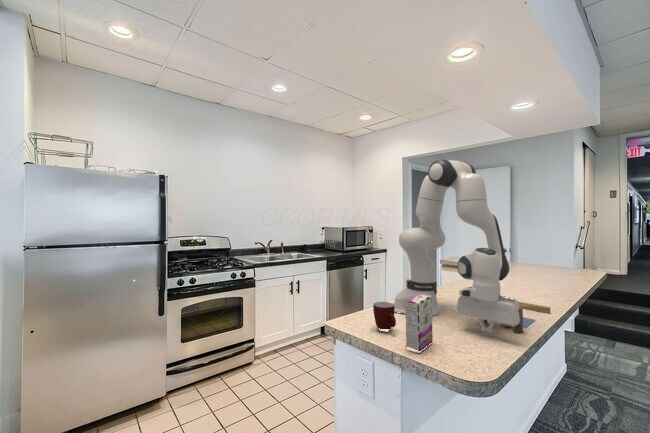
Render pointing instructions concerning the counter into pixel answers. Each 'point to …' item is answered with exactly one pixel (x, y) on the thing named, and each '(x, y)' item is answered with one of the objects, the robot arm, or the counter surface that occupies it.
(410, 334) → the candy bar box
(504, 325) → the ball
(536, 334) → the counter surface
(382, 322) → the mug
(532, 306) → the wall
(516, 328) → the bridge
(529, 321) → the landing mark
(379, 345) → the counter surface
